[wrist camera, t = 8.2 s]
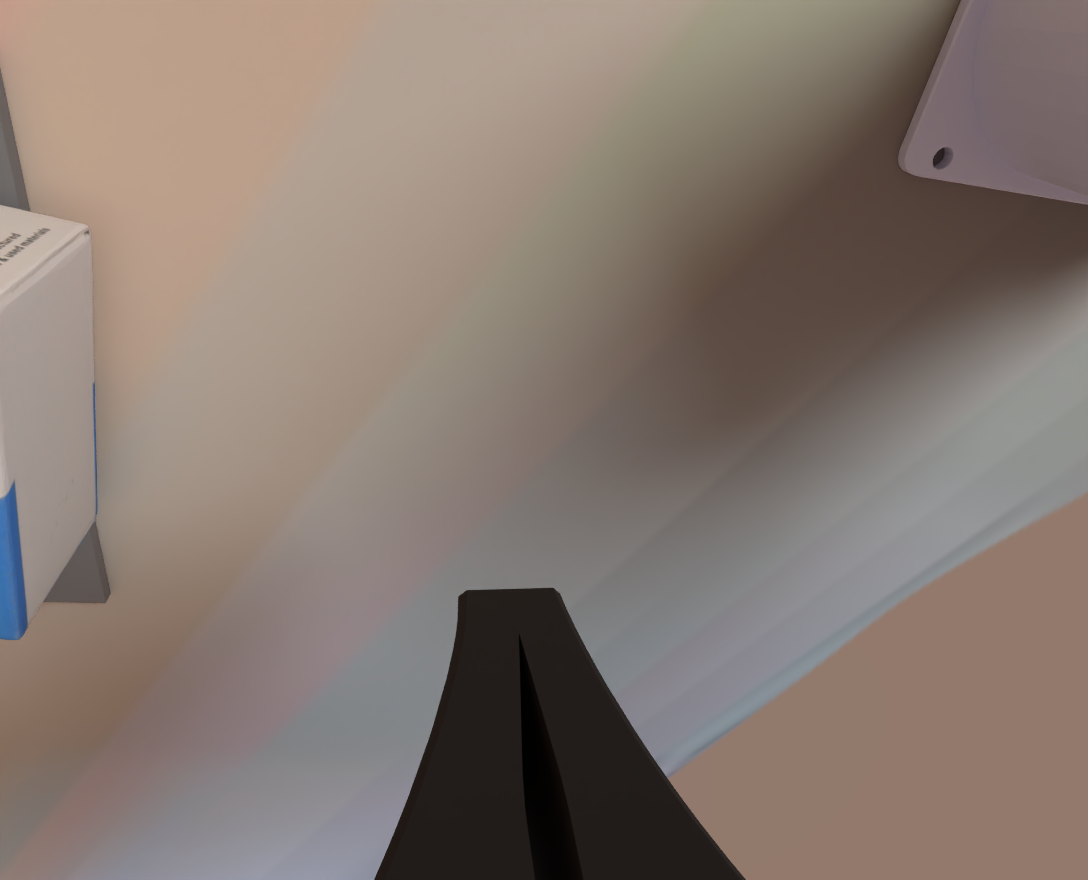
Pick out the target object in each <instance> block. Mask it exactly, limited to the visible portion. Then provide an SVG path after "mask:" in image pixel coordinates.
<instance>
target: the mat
mask: <svg viewBox="0 0 1088 880" xmlns="http://www.w3.org/2000/svg"><path fill="white" fill-rule="evenodd" d="M0 205H3V206H7V207H12V208H17V209H21V210H25V211H29V212H30V208H29V204H28V199H27V194H26V189H25V185H24V180H23V175H22V170H21V165H20V161H19V156H18V151H17V146H16V142H15V137H14V132H13V127H12V123H11V118H10V113H9V108H8V104H7V99H6V94H5V89H4V85H3V80H2V75H1V70H0ZM109 595H110V589H109V584H108V580H107V575H106V570H105V565H104V561H103V556H102V551H101V546H100V542H99V537H98V532H97V527H96V523H95V522H94V523H93V524H92V526H91V528H90V529H89V531H88V532H87V534H86V535H85V537H84V538H83V540H82V542H81V543H80V545H79V546H78V548H77V549H76V551H75V553H74V554H73V556H72V558H71V559H70V561H69V562H68V564H67V565H66V567H65V568H64V570H63V571H62V573H61V574H60V576H59V578H58V579H57V581H56V583H55V584H54V586H53V587H52V589H51V590H50V592H49V594H48V595H47V597H46V598H45V600H44V601H43V602H79V603H106V601H107V599H108V597H109Z"/></svg>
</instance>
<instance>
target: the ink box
mask: <svg viewBox="0 0 1088 880" xmlns="http://www.w3.org/2000/svg"><path fill="white" fill-rule="evenodd" d="M96 514H97V464H96V428H95V375H94V317H93V271H92V236H91V231H90V229H89V227H88V226H87V225H85V224H81V223H77V222H73V221H69V220H64V219H60V218H55V217H51V216H47V215H43V214H38V213H33V212H29V211H25V210H21V209H17V208H12V207H7V206H3V205H0V639H6V640H19V639H20V638H21V637H22V636H23V635H24V633H25V631H26V629H27V627H28V625H29V624H30V622H31V621H32V619H33V618H34V616H35V614H36V613H37V611H38V609H39V608H40V606H41V604H42V603H43V601H44V600H45V598H46V597H47V595H48V594H49V592H50V590H51V589H52V587H53V586H54V584H55V583H56V581H57V579H58V578H59V576H60V574H61V573H62V571H63V570H64V568H65V567H66V565H67V564H68V562H69V561H70V559H71V558H72V556H73V554H74V553H75V551H76V549H77V548H78V546H79V545H80V543H81V542H82V540H83V538H84V537H85V535H86V534H87V532H88V531H89V529H90V528H91V526H92V524H93V523H94V522H95V520H96Z"/></svg>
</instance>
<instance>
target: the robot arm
mask: <svg viewBox="0 0 1088 880" xmlns="http://www.w3.org/2000/svg"><path fill="white" fill-rule="evenodd" d="M942 148H944V150H945V153H944V157H943V159H942V160H941V162H940V163H938V164H937V165H935V166H933V163H932V162H933V157H934V156H935V154H936V153H937V151H939V150H940V149H942ZM898 163H899V166H900V167H901V169H902V170H903V171H905V172H907V173H909V174H912V175H914V176H919V177H925V178H930V179H936V180H942V181H948V182H954V183H960V184H966V185H972V186H978V187H984V188H990V189H996V190H1002V191H1008V192H1014V193H1020V194H1026V195H1032V196H1038V197H1044V198H1050V199H1056V200H1062V201H1068V202H1074V203H1080V204H1086V205H1088V0H961V1H960V4H959V6H958V9H957V11H956V14H955V16H954V18H953V21H952V23H951V26H950V28H949V31H948V33H947V36H946V38H945V40H944V43H943V45H942V48H941V50H940V53H939V55H938V57H937V60H936V62H935V65H934V67H933V70H932V72H931V75H930V77H929V79H928V82H927V84H926V87H925V89H924V92H923V94H922V96H921V99H920V101H919V104H918V106H917V109H916V111H915V114H914V116H913V118H912V121H911V123H910V126H909V128H908V131H907V133H906V135H905V138H904V140H903V143H902V145H901V148H900V151H899V155H898ZM374 880H746V879H745V878H744V877H743V876H742V875H741V873H740V872H739V871H738V870H737V869H736V867H735V866H734V865H733V864H732V863H731V861H730V860H729V859H728V858H727V857H726V855H725V854H724V853H723V851H722V850H721V849H720V848H719V846H718V845H717V844H716V843H715V841H714V840H713V839H712V838H711V836H710V835H709V834H708V832H707V831H706V830H705V829H704V827H703V826H702V825H701V824H700V822H699V821H698V820H697V818H696V817H695V816H694V814H693V813H692V812H691V810H690V809H689V808H688V806H687V805H686V804H685V802H684V801H683V800H682V798H681V797H680V796H679V794H678V793H677V791H676V790H675V789H674V787H673V786H672V784H671V783H670V781H669V780H668V779H667V777H666V776H665V774H664V773H663V771H662V770H661V769H660V767H659V766H658V764H657V763H656V761H655V760H654V758H653V757H652V756H651V754H650V753H649V751H648V750H647V748H646V747H645V745H644V744H643V742H642V741H641V739H640V738H639V736H638V734H637V733H636V731H635V730H634V728H633V727H632V725H631V724H630V722H629V720H628V719H627V717H626V715H625V714H624V712H623V711H622V709H621V707H620V706H619V704H618V703H617V701H616V699H615V698H614V696H613V694H612V693H611V691H610V690H609V688H608V686H607V685H606V683H605V681H604V679H603V678H602V676H601V674H600V672H599V671H598V669H597V667H596V665H595V663H594V662H593V660H592V658H591V656H590V654H589V653H588V651H587V649H586V647H585V645H584V643H583V641H582V639H581V637H580V636H579V634H578V632H577V630H576V628H575V626H574V624H573V622H572V620H571V617H570V615H569V613H568V611H567V609H566V607H565V604H564V602H563V600H562V597H561V595H560V593H558V592H557V591H556V590H555V589H554V588H532V589H496V590H467V591H465V592H464V593H463V594H461V595H460V596H459V597H458V622H457V630H456V637H455V643H454V648H453V653H452V657H451V662H450V666H449V671H448V675H447V679H446V683H445V686H444V690H443V693H442V697H441V700H440V704H439V707H438V711H437V714H436V718H435V721H434V725H433V728H432V731H431V734H430V737H429V740H428V743H427V746H426V749H425V752H424V754H423V757H422V760H421V763H420V766H419V768H418V771H417V774H416V777H415V780H414V783H413V785H412V788H411V791H410V794H409V797H408V799H407V802H406V804H405V807H404V809H403V812H402V815H401V817H400V820H399V822H398V825H397V827H396V830H395V832H394V834H393V837H392V839H391V842H390V844H389V847H388V849H387V851H386V854H385V856H384V858H383V861H382V863H381V865H380V868H379V870H378V872H377V875H376V877H375V879H374Z"/></svg>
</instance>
